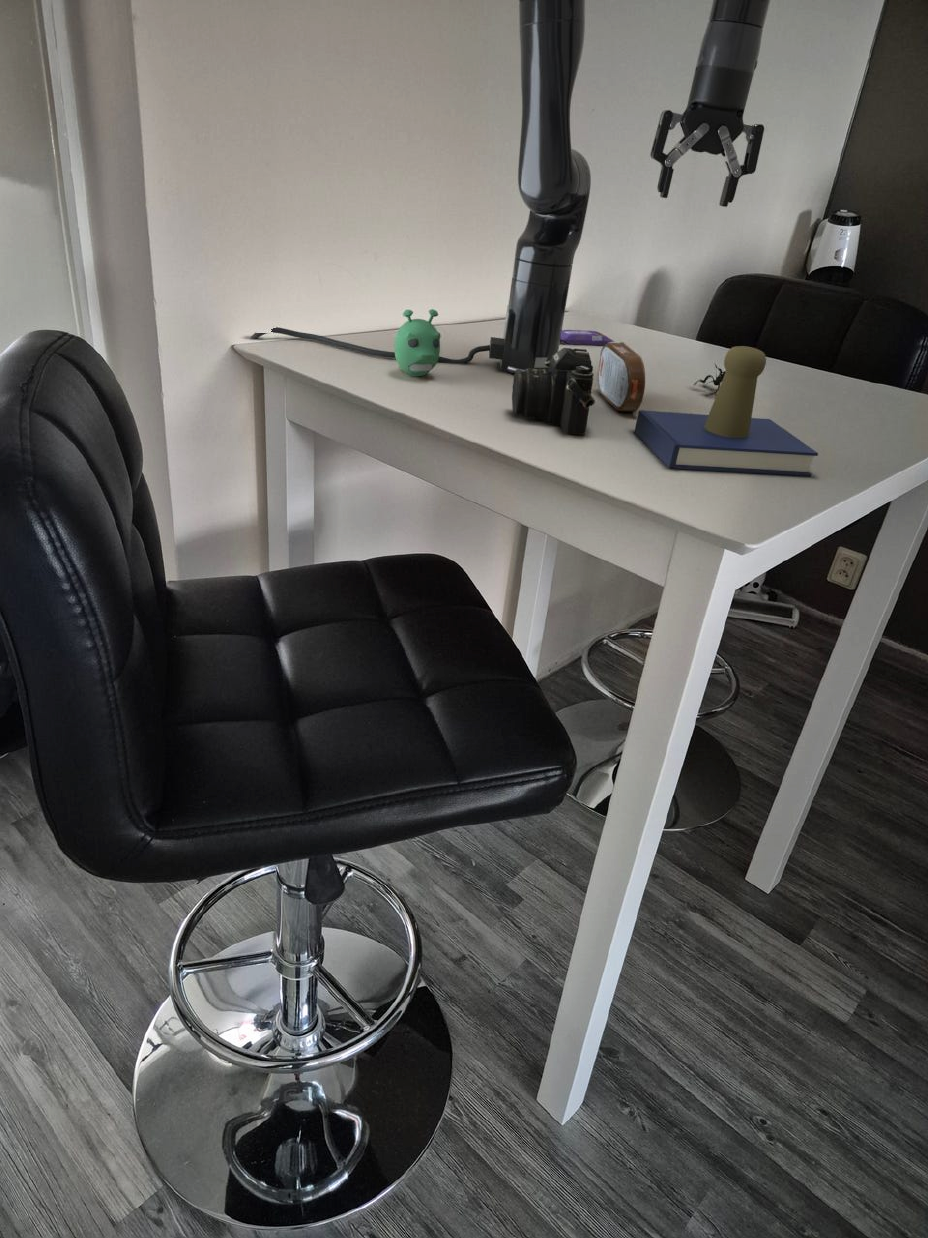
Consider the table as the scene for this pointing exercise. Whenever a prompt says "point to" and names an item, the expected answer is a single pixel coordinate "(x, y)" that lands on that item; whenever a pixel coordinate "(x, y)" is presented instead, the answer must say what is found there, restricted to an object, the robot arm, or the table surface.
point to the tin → (621, 377)
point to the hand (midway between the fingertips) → (693, 201)
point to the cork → (736, 393)
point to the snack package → (584, 337)
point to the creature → (716, 382)
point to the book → (722, 445)
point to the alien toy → (417, 345)
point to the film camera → (557, 391)
